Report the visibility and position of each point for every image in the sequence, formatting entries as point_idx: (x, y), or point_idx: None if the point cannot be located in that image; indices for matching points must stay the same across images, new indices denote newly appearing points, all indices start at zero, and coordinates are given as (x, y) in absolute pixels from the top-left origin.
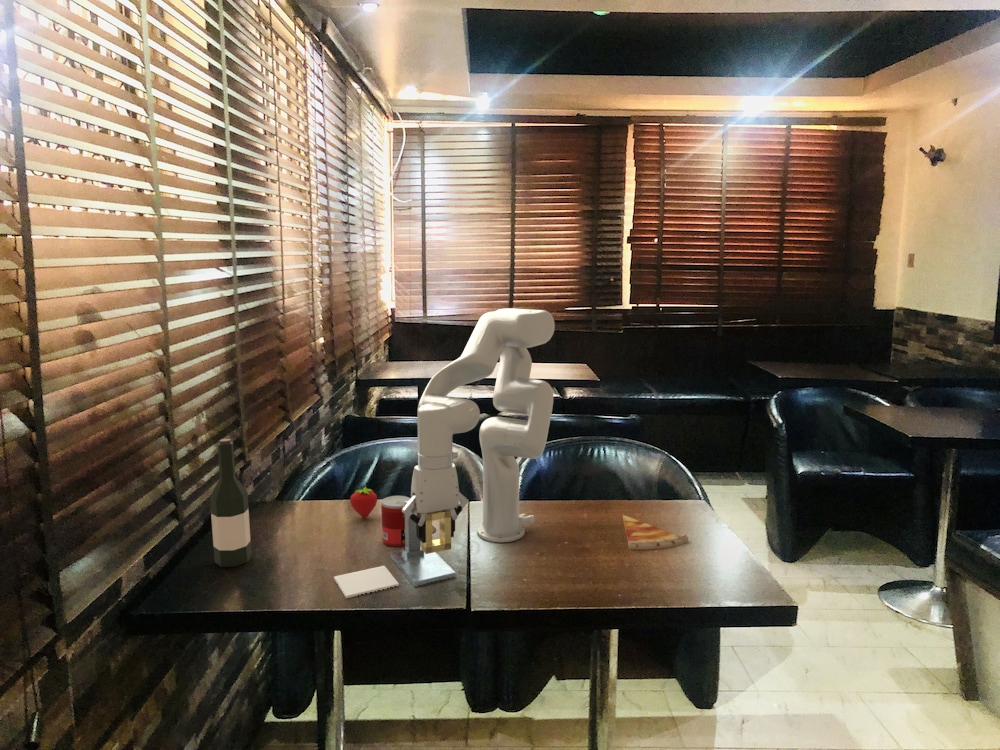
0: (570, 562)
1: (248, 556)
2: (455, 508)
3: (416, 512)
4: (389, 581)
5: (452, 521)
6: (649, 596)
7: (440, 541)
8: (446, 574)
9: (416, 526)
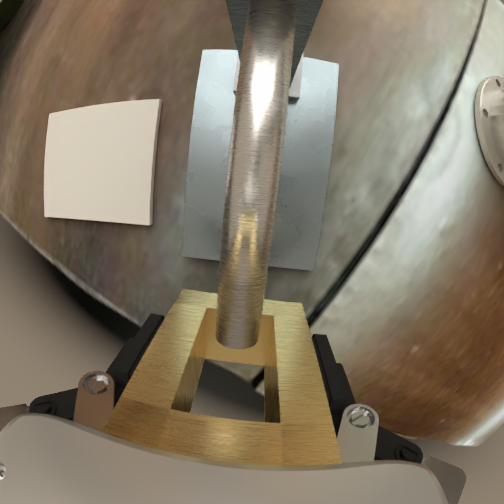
0: (495, 326)
1: (10, 12)
2: (386, 458)
3: (73, 420)
4: (132, 200)
5: None
6: (453, 427)
7: (260, 340)
8: (284, 267)
9: (108, 372)
